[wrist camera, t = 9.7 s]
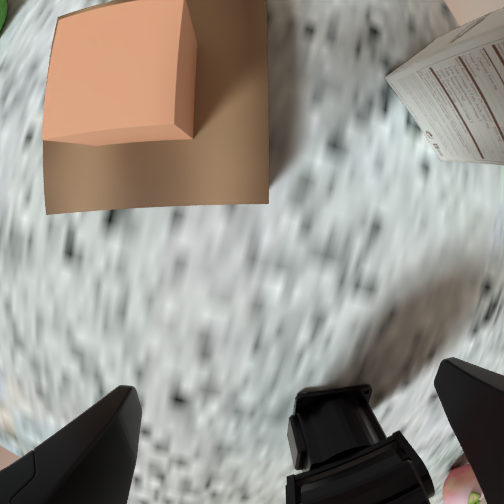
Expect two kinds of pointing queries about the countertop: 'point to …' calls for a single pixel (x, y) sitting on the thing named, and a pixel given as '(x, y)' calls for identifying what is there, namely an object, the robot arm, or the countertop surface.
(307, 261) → the countertop surface
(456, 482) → the decorative fruit
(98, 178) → the walnut block
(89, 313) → the countertop surface
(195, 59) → the terracotta cube
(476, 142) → the supplement box
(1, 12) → the wine bottle
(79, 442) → the robot arm
